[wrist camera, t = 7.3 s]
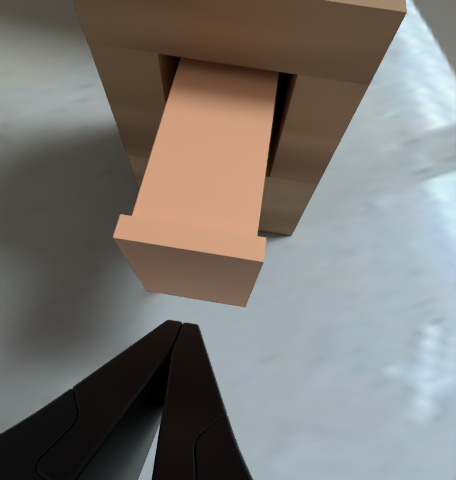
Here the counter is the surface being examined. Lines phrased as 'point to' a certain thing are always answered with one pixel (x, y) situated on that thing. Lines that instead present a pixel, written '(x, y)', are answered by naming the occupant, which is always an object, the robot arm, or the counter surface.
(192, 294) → the tan rectangular block
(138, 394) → the robot arm
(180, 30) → the walnut block
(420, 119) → the counter surface
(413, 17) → the counter surface
